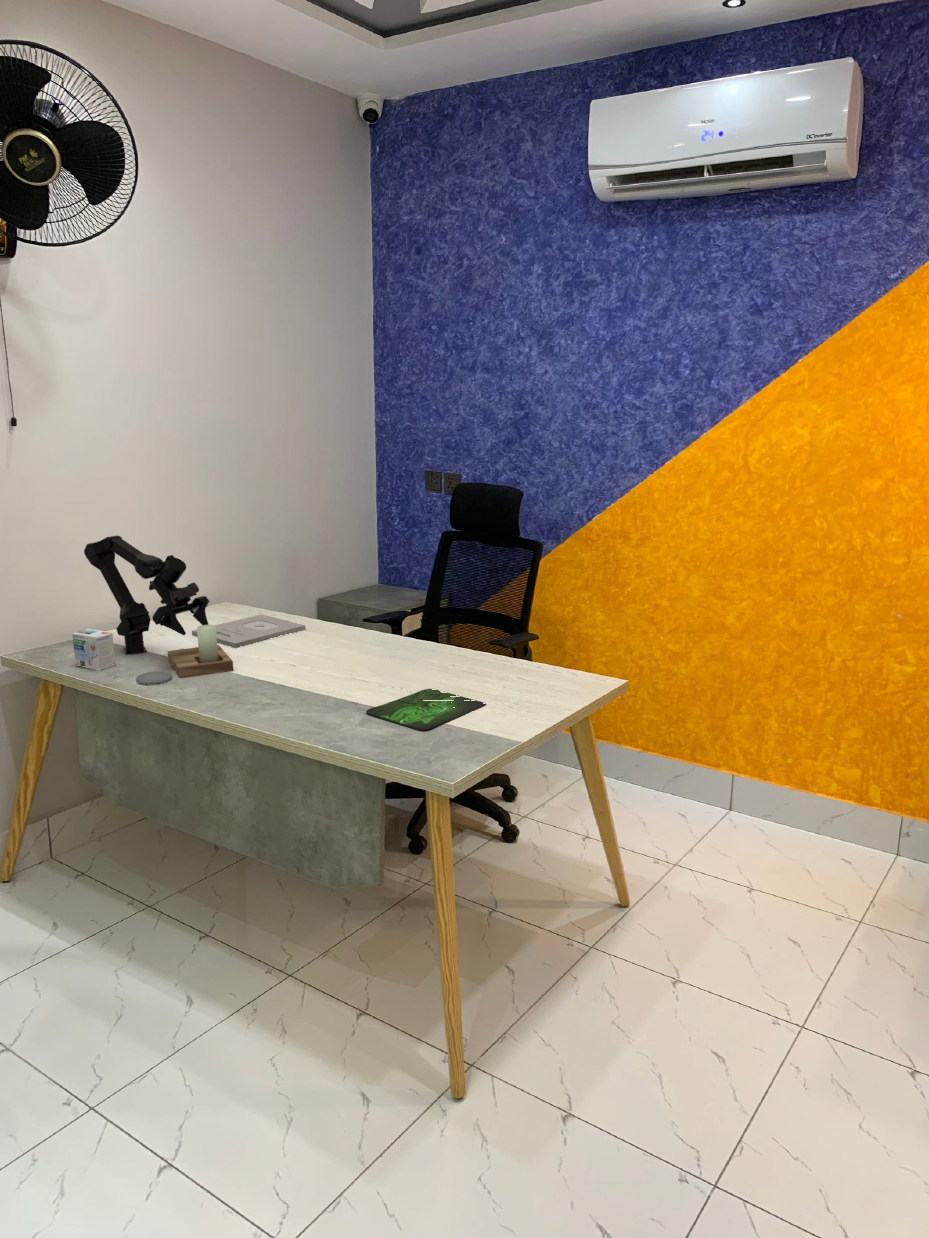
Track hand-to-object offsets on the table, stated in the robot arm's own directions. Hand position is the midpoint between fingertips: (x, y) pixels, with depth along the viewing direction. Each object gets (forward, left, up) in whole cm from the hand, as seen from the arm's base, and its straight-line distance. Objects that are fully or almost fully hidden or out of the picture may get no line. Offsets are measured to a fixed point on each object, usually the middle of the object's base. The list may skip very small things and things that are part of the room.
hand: (196, 631), depth 281 cm
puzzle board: (0, 0, -11) cm, 11 cm away
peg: (+4, +2, -11) cm, 12 cm away
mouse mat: (+67, +47, -12) cm, 83 cm away
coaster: (+8, -15, -11) cm, 20 cm away
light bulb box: (-14, -29, -11) cm, 34 cm away
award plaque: (-31, +23, -12) cm, 41 cm away
